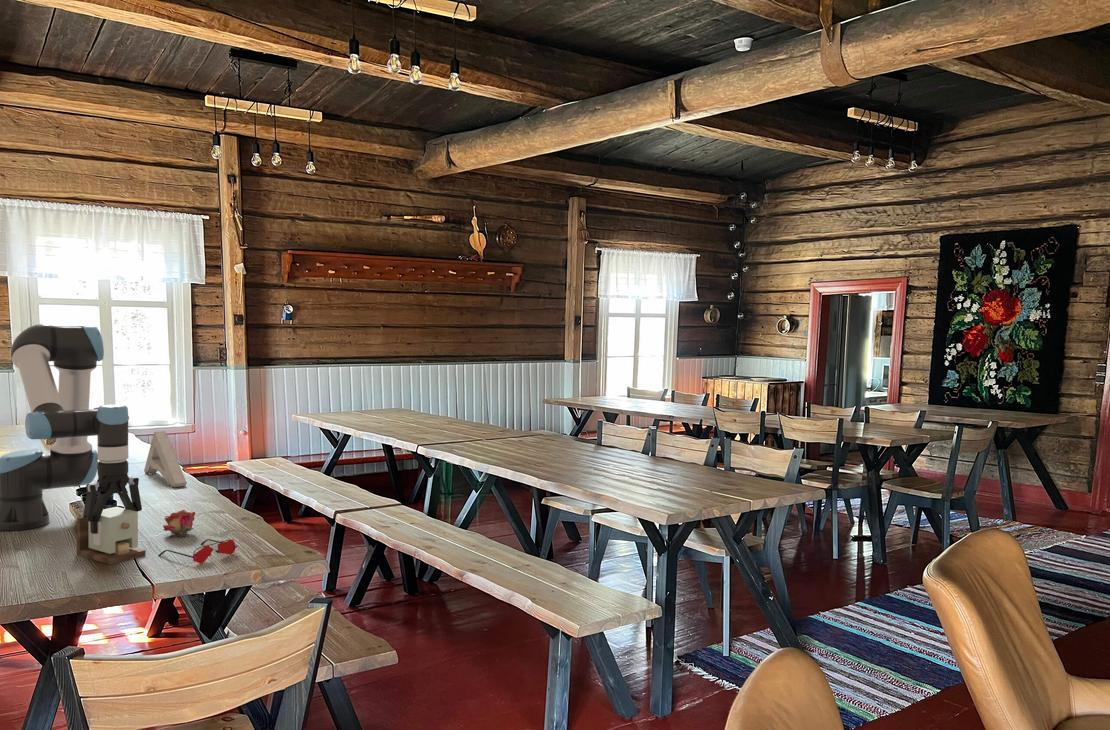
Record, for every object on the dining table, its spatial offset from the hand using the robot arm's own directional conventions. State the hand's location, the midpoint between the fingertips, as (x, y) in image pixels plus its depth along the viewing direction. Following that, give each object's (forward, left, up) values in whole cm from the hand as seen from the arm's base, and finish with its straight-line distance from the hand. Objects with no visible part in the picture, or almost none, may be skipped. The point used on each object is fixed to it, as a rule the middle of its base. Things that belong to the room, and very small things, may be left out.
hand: (113, 540), depth 218 cm
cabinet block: (0, 0, -2) cm, 2 cm away
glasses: (+18, +14, -5) cm, 23 cm away
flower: (-4, +23, -4) cm, 24 cm away
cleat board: (-1, 0, -4) cm, 4 cm away
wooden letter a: (-79, +69, -5) cm, 105 cm away
